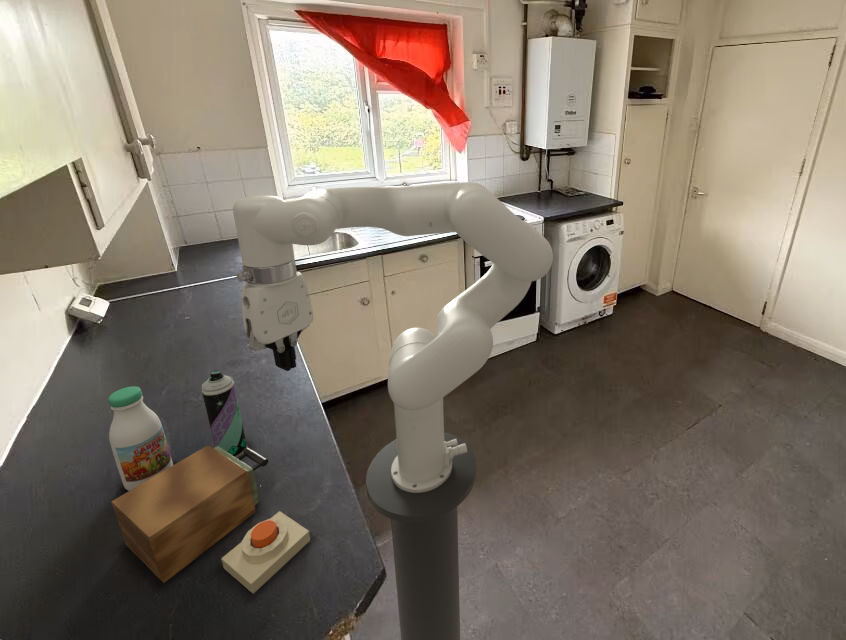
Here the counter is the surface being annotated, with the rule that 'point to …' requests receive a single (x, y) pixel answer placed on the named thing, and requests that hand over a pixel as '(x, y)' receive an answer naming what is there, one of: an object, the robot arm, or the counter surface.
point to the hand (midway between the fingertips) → (286, 366)
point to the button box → (265, 553)
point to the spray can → (224, 413)
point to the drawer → (253, 456)
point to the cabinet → (184, 510)
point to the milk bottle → (137, 438)
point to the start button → (264, 534)
